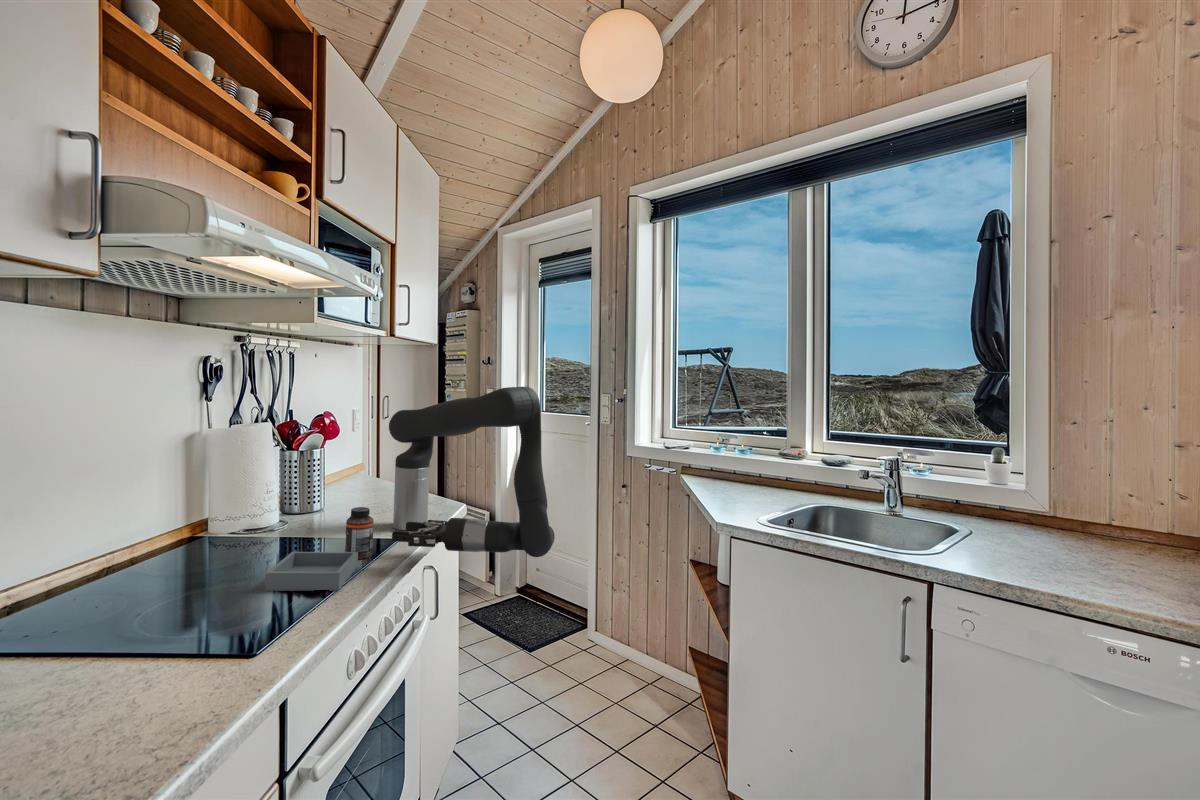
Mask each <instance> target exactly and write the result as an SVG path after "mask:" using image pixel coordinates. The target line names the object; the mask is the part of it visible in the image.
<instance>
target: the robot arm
mask: <svg viewBox="0 0 1200 800" xmlns="http://www.w3.org/2000/svg"><path fill="white" fill-rule="evenodd" d="M541 411H542V410H541V403H540V399H539V395H538V394H537V392H536V391H535V390H534V389H533V388H531V387H530V386H529V387H528V386H510V387H502V388H499V389H495V390H493V391H491V392H488V393H486V394H483V395H479V396H477V397H461V398H456V399H451V400H446V401H443V402H440V403H435V404H432V405H429V406H427V407H424V408H420V409H419V408H418V409H402V410H398V411H396V412H395V413H394V414H393V415H392V416H391V418H390V420H389V423H388V431H389V433H390V436H391V437H392V439H393V440H395V441H397V442H398V443H402V444H403V443H405V444H406V443H408V444H409V443H410V444H411V445H410V447H409V448H408V449H407V450H405V451H404V452H402V453H400V454H398V455H397V456H396V457H395V463H394V465H395V466H394V491H393V492H394V495H393V517H392V521H393V522H392V528H393V529H395V530H394V531H392V533H391V540H392V542H399V543H408V544H407V546H408V547H421V548H424V547H425V548H429V547H430V548H435V547H436V544H439V543H443V545H444V547H445V550H446V551H451V552H463V553H464V552H469V553H481V552H486V553H508V552H510V551H524V552H525V553H526V555H528V556H530V557H533V558H541V557H543V556H545V555H547V554H548V553H549V551H550V550H551V548H552V546H553V545H554V543H555V539H556V537H555V532H554V529H553V528H552V527H551V526H550V524H549V518H548V510H547V509H548V496H547V491H546V486H545V479H544V472H543V460H542V413H541ZM491 427H493V428H494V427H495V428H496V427H497V428H511V427H512V428H513V427H518V429H519V432H520V448H519V454H518V457H517V462H516V465H515V470H514V475H513V486H514V493H515V499H516V505H517V509H518V515H519V516H518V517H519V521H518V522H517V521H516V522H515V521H514V522H509V521H508V522H507V521H497V520H485V519H480V518H463V517H451V518H449V519H447V520H439V519H438V520H435V519H428V516H429V515H428V514H429V491H430V490H429V489H430V466H431V465H430V464H431V459H432V456H433V453H434V452H433V451H434V450H433V448H434V442H435V441H434V438H435V437H455V436H462V435H467V434H470V433H473V432H475V431H476V430H478V429H480V428H491ZM415 538H417V539H415Z"/></svg>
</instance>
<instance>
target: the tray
mask: <svg viewBox="0 0 1200 800" xmlns="http://www.w3.org/2000/svg"><path fill="white" fill-rule="evenodd" d="M358 560H359V559H358V552H345V551H291V552H290V553H289V554H287V556H285V557H284V558H282V560H280V561H278V562H277V563H276V564H275V565H274V566H272V567H271V568H270V569H269V570H268V571H266V572H265V576H264V577H265V578H264V581H265V582H264V591H265V592H269V591H270V592H274V591H275V592H278V591H279V592H281V591H282V592H284V591H287V592H288V591H289V592H290V591H291V592H294V591H296V592H297V591H299V592H301V591H303V592H304V591H305V592H307V591H311V592H312V591H313V592H314V590H329V591H340V590H341V588H342V587H343V586H344V585H345V584H344V583H346V582H347V581H348V580H349V579H350V577H351V576H352V575H353V574H354V573H355V571H356V570H357V569H358V565H359V564H358V562H359V561H358ZM356 568H357V569H356ZM355 569H356V570H355ZM354 570H355V571H354ZM353 572H354V573H353ZM352 573H353V574H352ZM351 574H352V575H351ZM350 575H351V576H350ZM348 578H349V579H348ZM347 579H348V580H347ZM346 580H347V581H346ZM345 581H346V582H345ZM343 584H344V585H343ZM342 585H343V586H342ZM341 586H342V587H341ZM339 589H340V590H339Z"/></svg>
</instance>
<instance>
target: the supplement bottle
mask: <svg viewBox="0 0 1200 800" xmlns="http://www.w3.org/2000/svg"><path fill="white" fill-rule="evenodd" d="M374 521H375V520H374V518H373V517H372V516H370V508H369V507H367V506H357V507H356V506H355V507H353V508H351V510H350V516H349V517H348V518H347V519H346V521H345V522H346V523H345V551H344V552H358V560H365V559H367V558H370V557H371V556H372V555H373V551H374V550H373V549H374V544H373V543H374ZM364 558H365V559H364Z"/></svg>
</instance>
